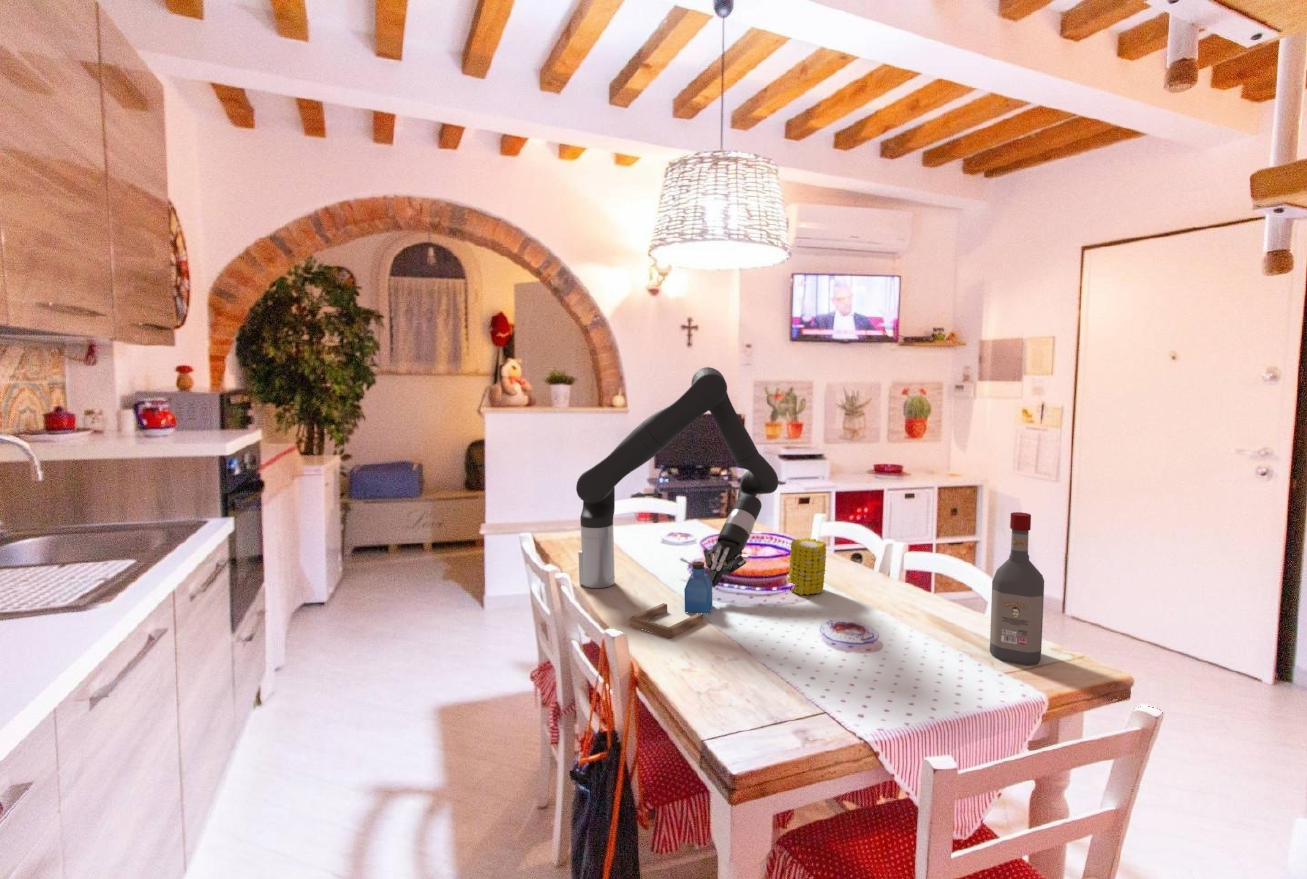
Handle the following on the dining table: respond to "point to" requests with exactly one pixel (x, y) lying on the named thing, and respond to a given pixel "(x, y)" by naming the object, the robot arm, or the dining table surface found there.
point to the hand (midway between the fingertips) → (710, 585)
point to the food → (807, 566)
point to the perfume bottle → (698, 590)
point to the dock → (668, 632)
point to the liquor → (1017, 601)
